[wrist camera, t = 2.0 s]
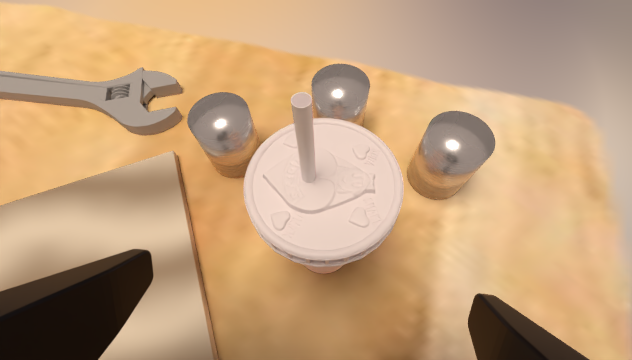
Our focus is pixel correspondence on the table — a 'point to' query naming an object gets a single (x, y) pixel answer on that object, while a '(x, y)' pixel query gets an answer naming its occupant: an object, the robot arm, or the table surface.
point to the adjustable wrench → (102, 96)
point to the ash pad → (119, 251)
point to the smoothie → (323, 190)
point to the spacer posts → (349, 105)
